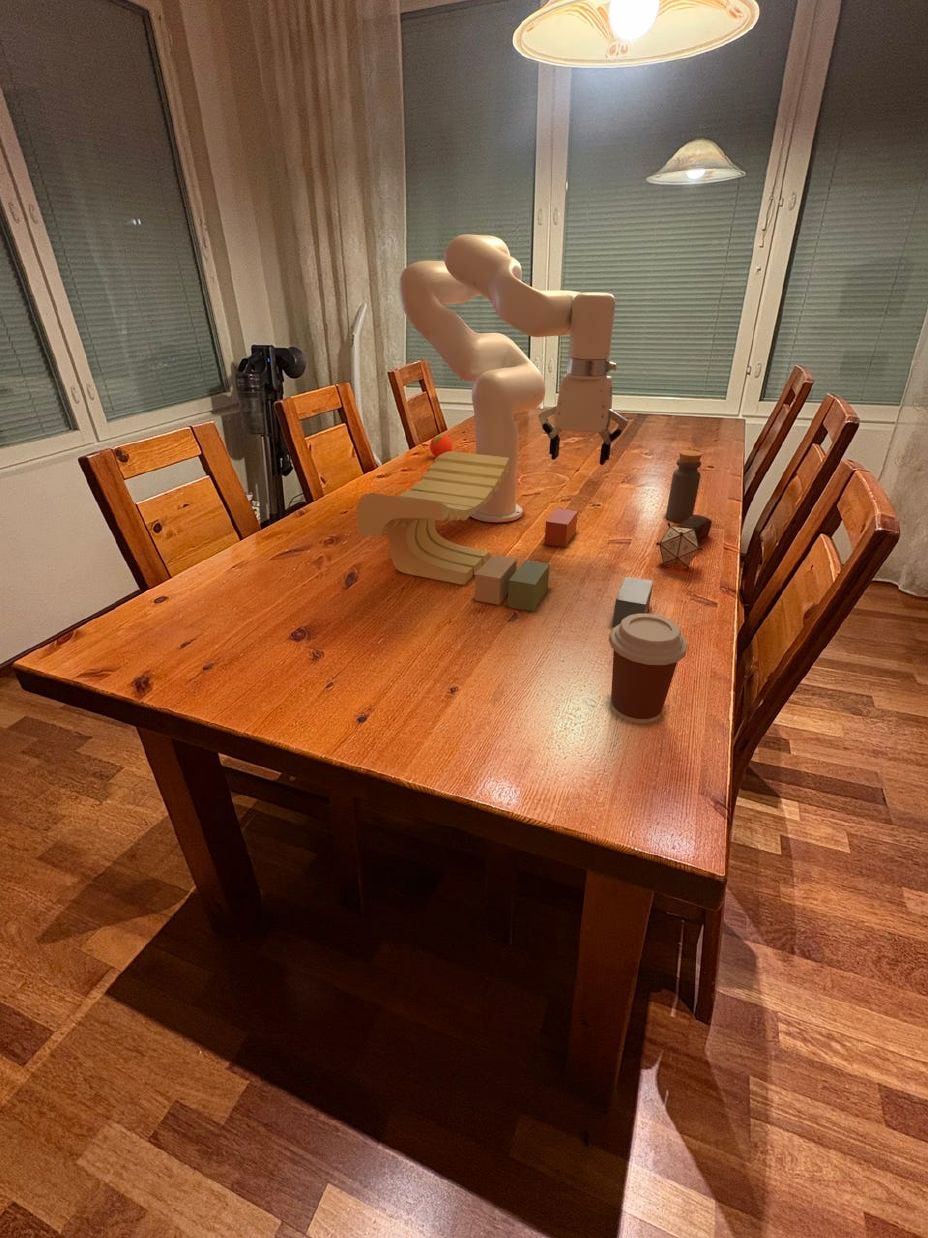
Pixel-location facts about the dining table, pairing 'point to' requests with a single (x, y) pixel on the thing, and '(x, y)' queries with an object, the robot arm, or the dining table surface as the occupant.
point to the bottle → (684, 487)
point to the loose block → (560, 527)
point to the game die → (679, 546)
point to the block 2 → (528, 585)
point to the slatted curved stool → (434, 516)
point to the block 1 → (494, 579)
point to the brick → (698, 526)
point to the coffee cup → (644, 665)
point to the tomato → (440, 445)
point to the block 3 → (632, 598)
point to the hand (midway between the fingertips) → (578, 460)
